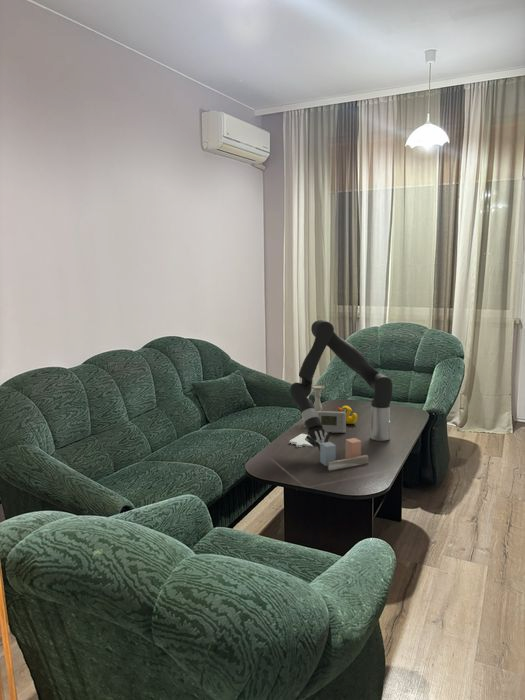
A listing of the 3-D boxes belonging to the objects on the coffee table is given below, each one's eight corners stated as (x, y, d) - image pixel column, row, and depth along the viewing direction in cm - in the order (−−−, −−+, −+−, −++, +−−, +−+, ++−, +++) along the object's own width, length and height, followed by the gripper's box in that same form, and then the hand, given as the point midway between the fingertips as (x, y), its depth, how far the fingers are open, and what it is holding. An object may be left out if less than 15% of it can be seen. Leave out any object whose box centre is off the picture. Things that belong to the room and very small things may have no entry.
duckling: (335, 423, 301) (335, 406, 300) (339, 420, 306) (339, 403, 304) (355, 426, 296) (355, 408, 294) (358, 423, 301) (358, 406, 299)
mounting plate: (303, 435, 283) (303, 432, 282) (326, 439, 276) (326, 436, 275) (286, 446, 268) (286, 442, 267) (309, 450, 261) (309, 446, 261)
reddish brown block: (345, 458, 248) (345, 439, 246) (354, 456, 250) (354, 437, 248) (351, 461, 243) (351, 442, 242) (360, 460, 245) (361, 441, 243)
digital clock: (314, 432, 287) (314, 413, 285) (318, 427, 295) (318, 408, 293) (344, 435, 281) (344, 415, 279) (347, 430, 289) (347, 411, 288)
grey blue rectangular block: (320, 462, 243) (320, 443, 241) (329, 460, 245) (329, 441, 243) (325, 466, 238) (325, 446, 237) (335, 464, 240) (335, 445, 239)
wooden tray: (313, 461, 246) (313, 452, 246) (351, 454, 254) (351, 446, 253) (329, 472, 234) (329, 463, 233) (368, 464, 242) (368, 456, 241)
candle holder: (324, 423, 301) (324, 388, 297) (308, 423, 302) (308, 387, 299) (325, 419, 309) (326, 384, 306) (310, 418, 311) (310, 384, 307)
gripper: (301, 418, 247) (314, 452, 238) (326, 414, 252) (340, 447, 243) (296, 425, 253) (308, 459, 244) (320, 422, 258) (333, 454, 249)
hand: (324, 453), depth 244 cm, fingers closed
